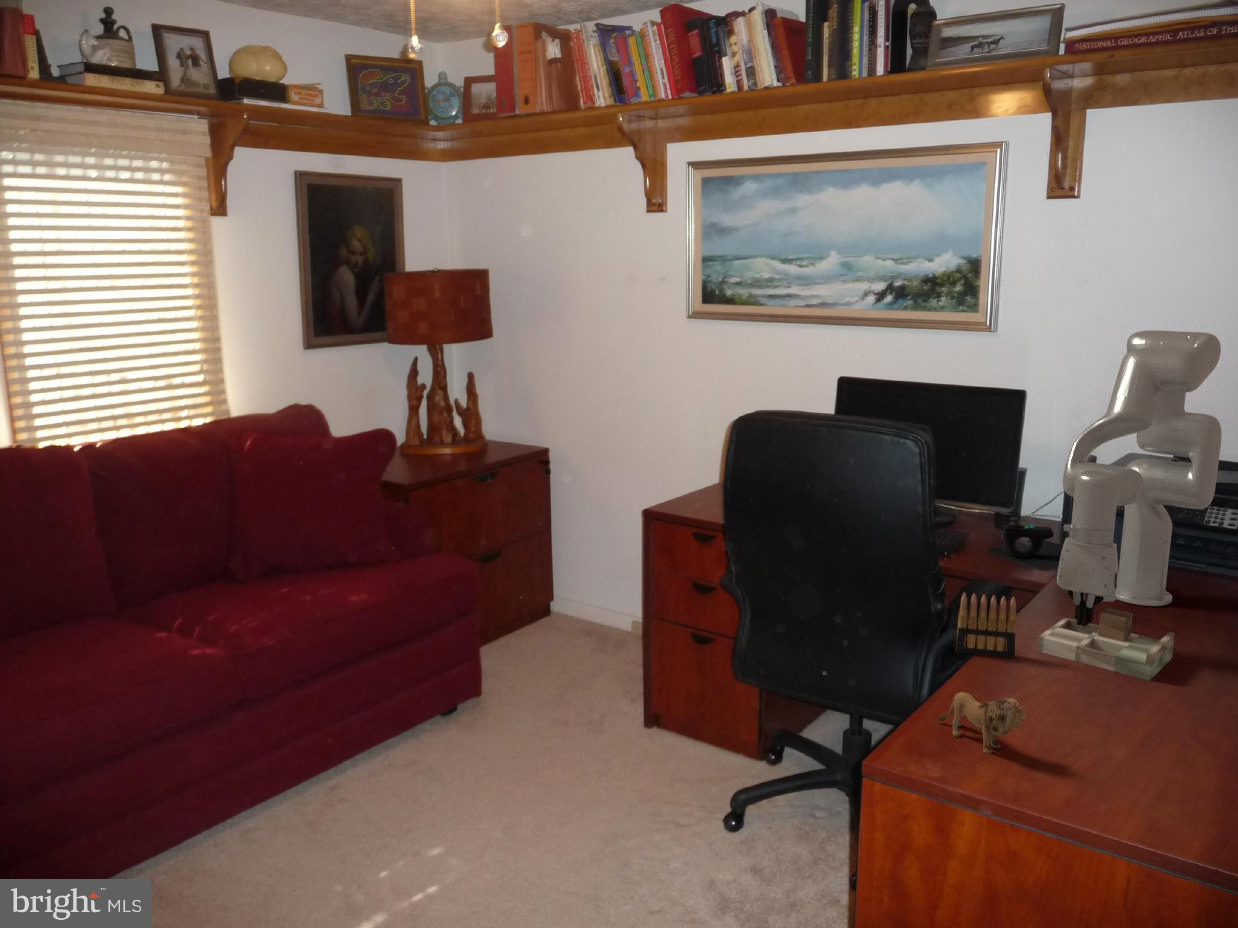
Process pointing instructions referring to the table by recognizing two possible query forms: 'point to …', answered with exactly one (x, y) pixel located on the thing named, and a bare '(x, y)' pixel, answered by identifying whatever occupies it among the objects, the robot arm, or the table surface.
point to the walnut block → (1115, 624)
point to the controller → (1017, 531)
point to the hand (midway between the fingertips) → (1083, 623)
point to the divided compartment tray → (1107, 649)
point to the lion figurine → (986, 717)
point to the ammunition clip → (986, 628)
